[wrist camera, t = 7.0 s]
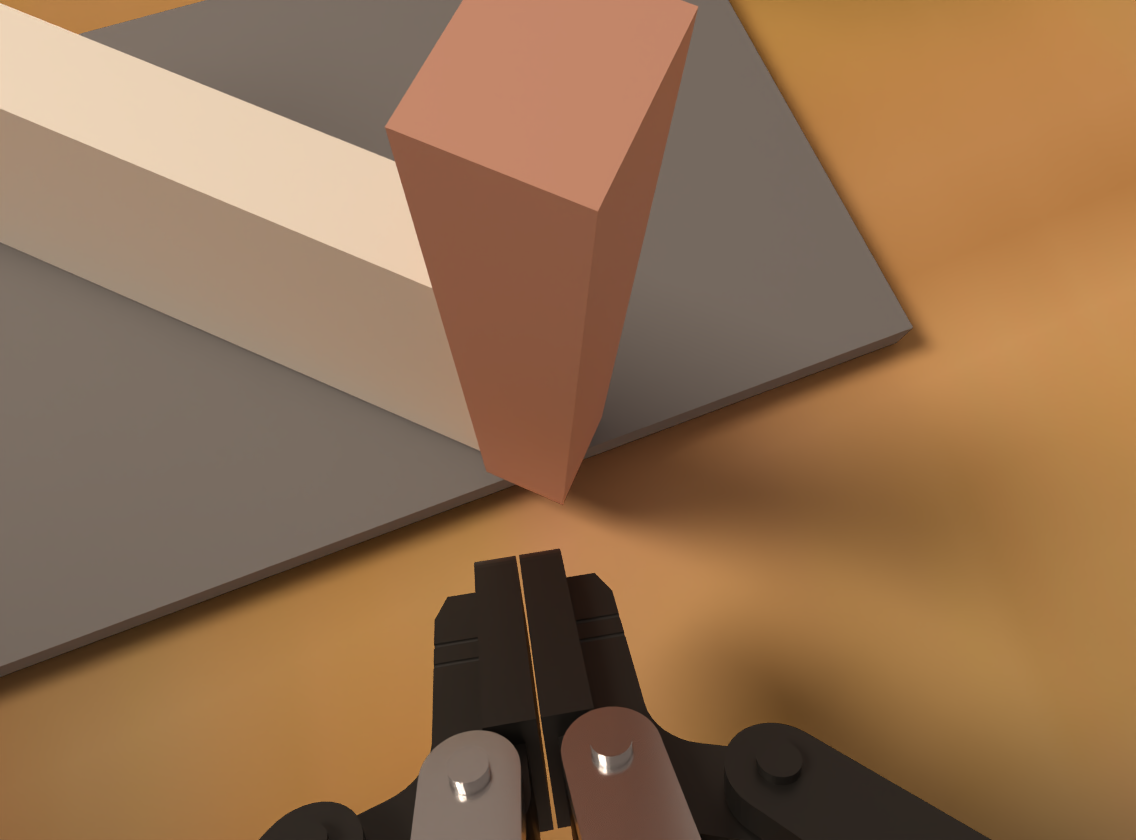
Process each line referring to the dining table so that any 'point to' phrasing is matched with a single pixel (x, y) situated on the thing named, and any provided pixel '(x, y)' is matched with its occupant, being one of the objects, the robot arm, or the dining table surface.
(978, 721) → the dining table surface
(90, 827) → the dining table surface
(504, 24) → the gate
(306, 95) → the mat
